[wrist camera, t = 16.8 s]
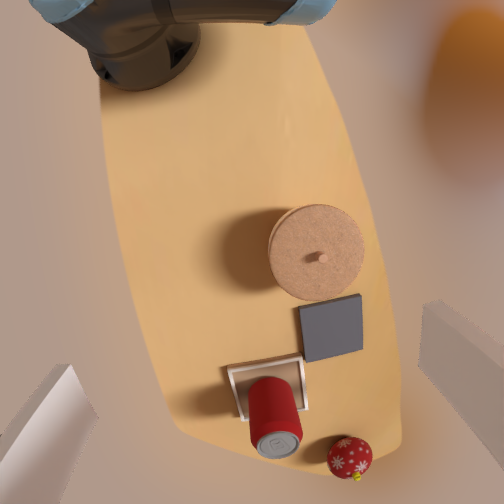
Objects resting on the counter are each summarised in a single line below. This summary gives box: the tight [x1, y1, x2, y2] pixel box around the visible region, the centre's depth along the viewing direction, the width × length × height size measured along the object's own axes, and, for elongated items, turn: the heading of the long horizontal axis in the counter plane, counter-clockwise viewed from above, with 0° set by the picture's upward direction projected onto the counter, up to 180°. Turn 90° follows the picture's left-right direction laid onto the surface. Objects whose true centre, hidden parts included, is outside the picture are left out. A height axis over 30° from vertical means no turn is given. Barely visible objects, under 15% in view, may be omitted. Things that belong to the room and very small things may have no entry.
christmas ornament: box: [327, 437, 372, 481], centre depth 45 cm, size 9×9×10 cm
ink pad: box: [298, 294, 363, 363], centre depth 43 cm, size 9×9×1 cm
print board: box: [227, 352, 308, 421], centre depth 45 cm, size 11×11×1 cm
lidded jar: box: [268, 204, 364, 301], centre depth 36 cm, size 11×11×9 cm
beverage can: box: [248, 377, 303, 459], centre depth 39 cm, size 7×7×12 cm
